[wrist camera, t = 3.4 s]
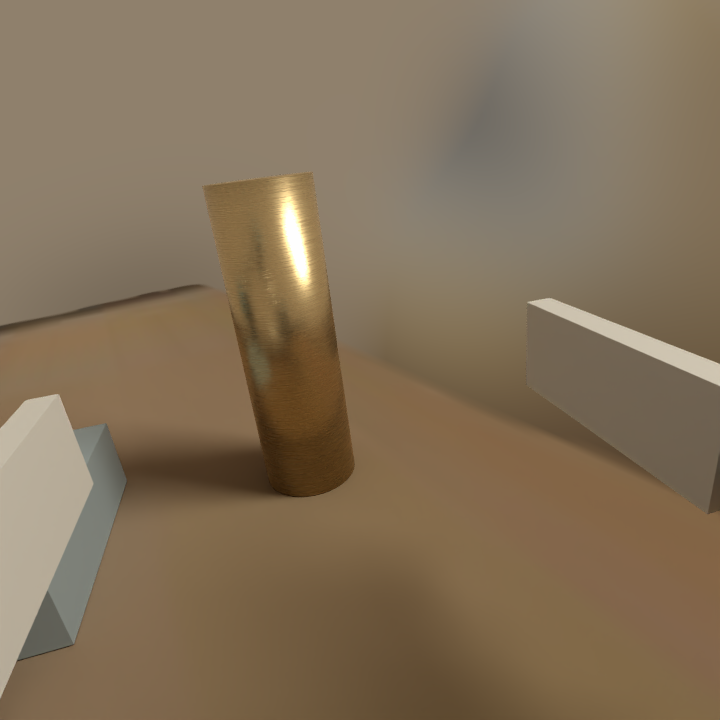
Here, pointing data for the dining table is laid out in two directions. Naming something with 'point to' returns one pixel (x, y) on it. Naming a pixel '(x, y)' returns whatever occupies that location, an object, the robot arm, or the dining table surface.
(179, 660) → the dining table surface
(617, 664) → the dining table surface
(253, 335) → the gold metal cylinder
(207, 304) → the dining table surface
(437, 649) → the dining table surface
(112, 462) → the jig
